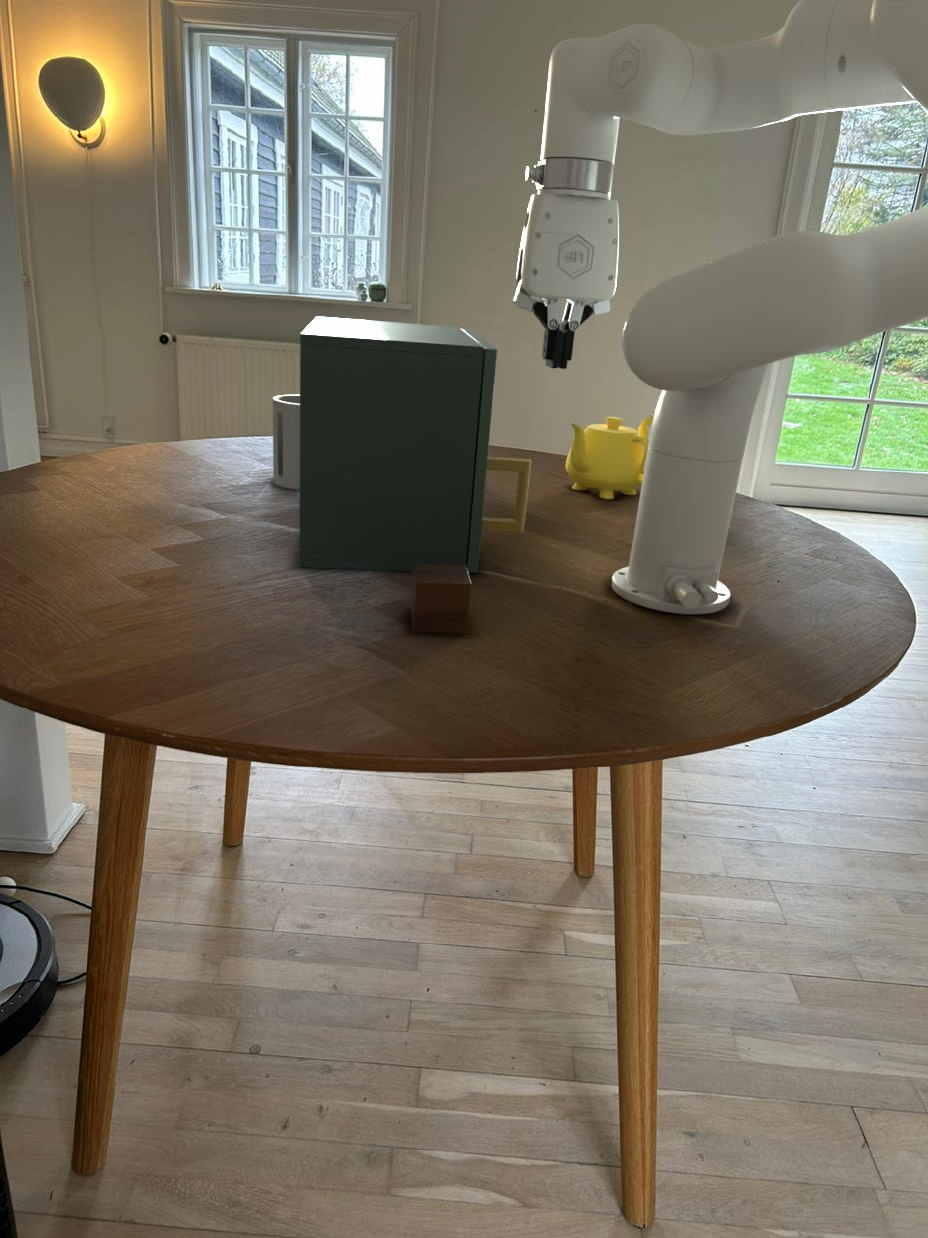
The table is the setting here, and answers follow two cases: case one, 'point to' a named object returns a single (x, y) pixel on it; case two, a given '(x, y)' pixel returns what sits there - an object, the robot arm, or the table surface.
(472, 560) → the door
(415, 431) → the cupboard
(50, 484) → the table surface
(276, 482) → the cup
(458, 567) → the block
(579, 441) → the teapot
